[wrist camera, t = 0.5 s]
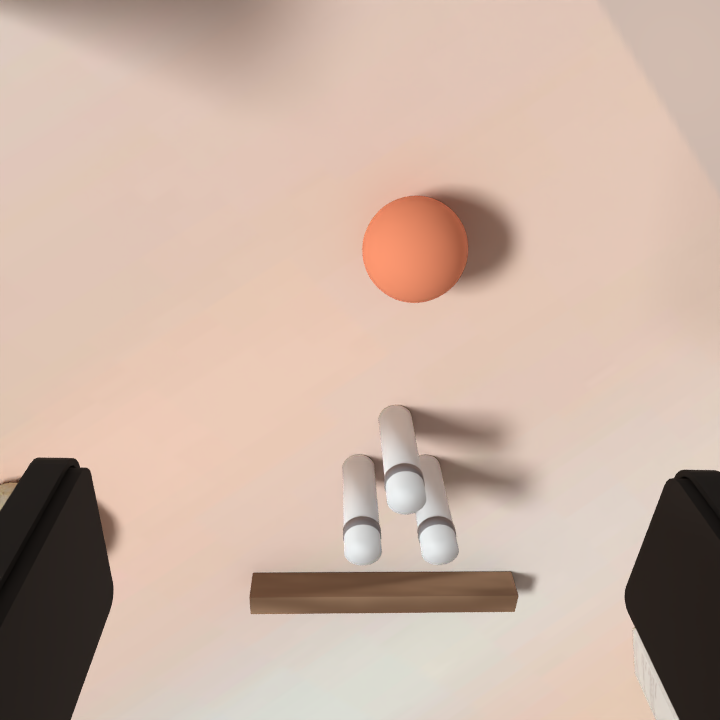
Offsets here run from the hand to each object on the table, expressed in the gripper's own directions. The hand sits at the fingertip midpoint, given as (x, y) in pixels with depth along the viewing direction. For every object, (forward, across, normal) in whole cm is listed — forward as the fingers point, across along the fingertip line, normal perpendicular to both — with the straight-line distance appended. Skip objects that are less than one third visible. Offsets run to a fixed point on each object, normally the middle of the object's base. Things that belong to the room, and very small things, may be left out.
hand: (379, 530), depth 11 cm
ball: (+27, -4, +5) cm, 28 cm away
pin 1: (+30, -2, +23) cm, 38 cm away
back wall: (+30, -5, +36) cm, 47 cm away
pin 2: (+30, -7, +23) cm, 39 cm away
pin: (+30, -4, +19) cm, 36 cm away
